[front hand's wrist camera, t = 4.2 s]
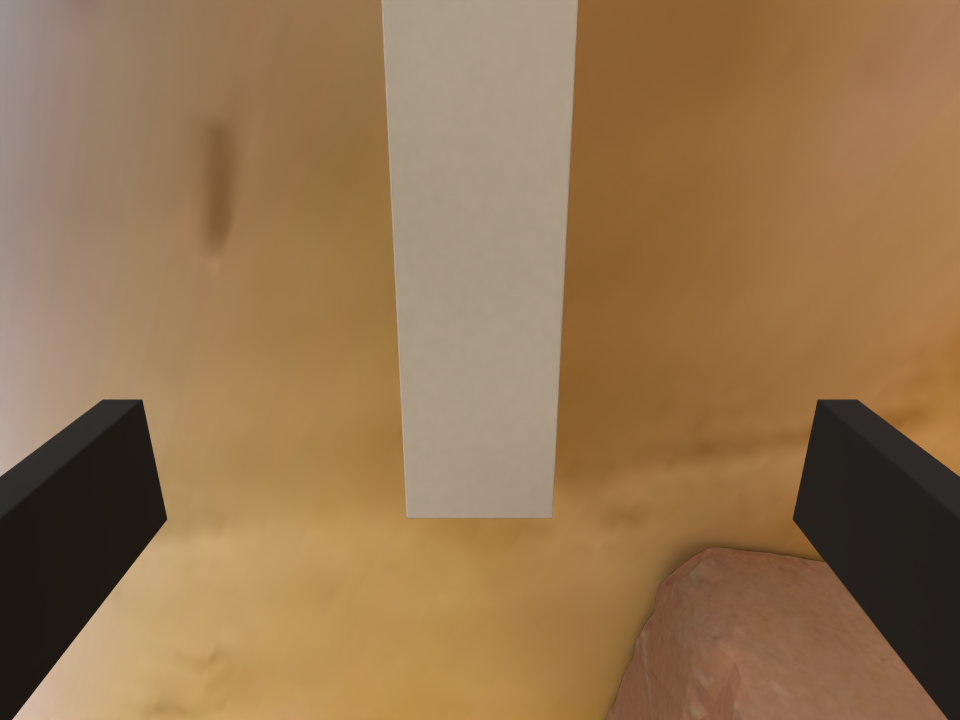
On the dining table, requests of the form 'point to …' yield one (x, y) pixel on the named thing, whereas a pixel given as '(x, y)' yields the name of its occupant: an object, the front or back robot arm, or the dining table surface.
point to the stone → (764, 648)
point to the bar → (479, 246)
